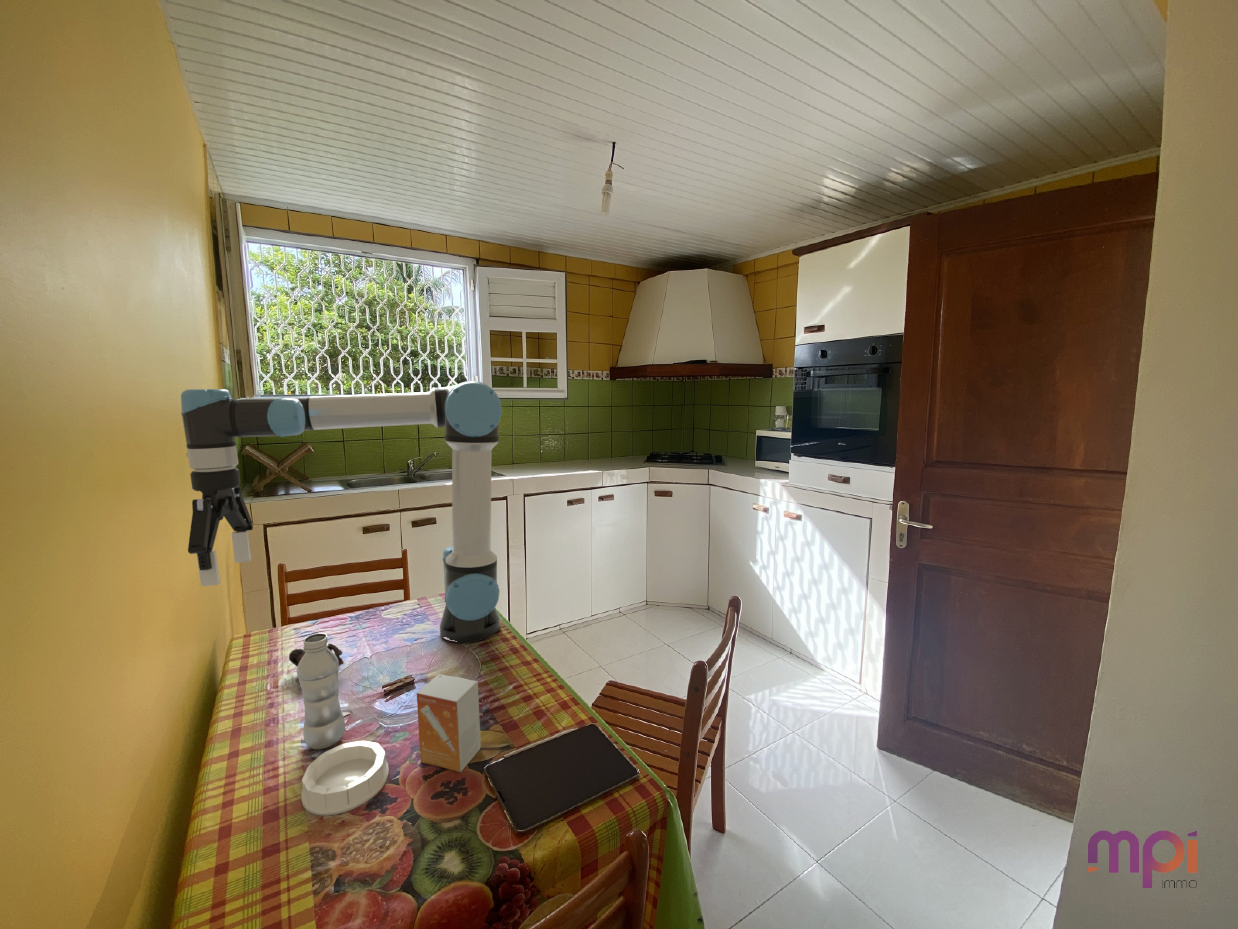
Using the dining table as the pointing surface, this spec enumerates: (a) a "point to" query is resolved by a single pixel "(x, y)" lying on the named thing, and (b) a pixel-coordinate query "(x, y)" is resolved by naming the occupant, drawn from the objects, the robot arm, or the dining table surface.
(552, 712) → the dining table surface
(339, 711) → the plastic bottle
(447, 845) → the dining table surface
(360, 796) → the bowl
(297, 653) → the broken clay pot
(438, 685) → the small box
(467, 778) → the dining table surface
